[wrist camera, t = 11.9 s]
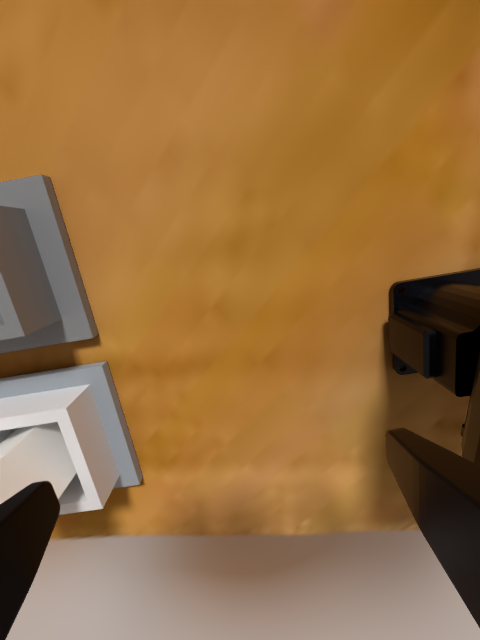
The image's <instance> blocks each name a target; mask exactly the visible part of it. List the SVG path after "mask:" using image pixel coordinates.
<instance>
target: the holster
mask: <svg viewBox="0 0 480 640" xmlns="http://www.w3.org/2000/svg"><path fill="white" fill-rule="evenodd" d="M97 335H98V331H97V327H96V324H95V321H94V318H93V314H92V311H91V308H90V305H89V302H88V298H87V295H86V292H85V289H84V285H83V282H82V279H81V276H80V273H79V269H78V266H77V263H76V260H75V256H74V253H73V250H72V247H71V244H70V240H69V237H68V234H67V231H66V227H65V224H64V221H63V218H62V215H61V211H60V208H59V205H58V202H57V198H56V195H55V192H54V189H53V186H52V182H51V179H50V177H47V176H44V175H37V176H32V177H26V178H21V179H16V180H10V181H5V182H0V353H6V352H12V351H18V350H24V349H30V348H36V347H42V346H49V345H55V344H61V343H67V342H73V341H79V340H85V339H91V338H94V337H96V336H97Z"/></svg>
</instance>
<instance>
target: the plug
mask: <svg viewBox="0 0 480 640" xmlns="http://www.w3.org/2000/svg"><path fill="white" fill-rule="evenodd" d="M76 473H77V472H76V469H75V467H74V464H73V462H72V459H71V456H70V454H69V451H68V448H67V446H66V443H65V440H64V438H63V435H62V433H61V430H60V427H59V425H58V422H53V423H47V424H40V425H34V426H27V427H21V428H19V429H17V430H15V431H14V432H13V433H12V434H11V435H10V436H8V437H7V438H6V439H5V440H4V441H3V442H2V443H0V504H1V503H3V502H4V501H6V500H7V499H9V498H10V497H12V496H13V495H15V494H16V493H18V492H19V491H21V490H22V489H24V488H25V487H27V486H28V485H30V484H31V483H34V482H40V481H49V482H50V483H51V484H52V486H53V488H54V491H55V493H56V495H57V498H58V499H59V498H60V496H61V495H62V493H63V492H64V490H65V489H66V487H67V486H68V484H69V483H70V482H71V480H72V479H73V477H74V476H75V474H76Z"/></svg>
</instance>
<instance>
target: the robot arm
mask: <svg viewBox="0 0 480 640" xmlns="http://www.w3.org/2000/svg"><path fill="white" fill-rule="evenodd" d="M399 287H402V291H401V292H400V293H398V292H397V289H398V288H399ZM390 297H391V314H390V316H389V317H388V322H389V348H390V351H391V352H392V353H393V369H394V370H395V371H396V372H397V373H398V374H400V375H405V374H412V373H418V372H419V373H420V374H421V375H423V376H424V377H425V378H427V379H429V378H433V379H434V380H436V381H437V382H438V383H440V384H441V385H443V386H444V387H445V388H447V389H448V390H449V391H451V392H452V393H454V394H455V395H456V396H458V397H463V396H470V401H469V406H468V411H467V416H466V421H465V424H463V425H462V429H461V436H462V437H463V439H462V457H461V456H459V455H457V454H455V453H453V452H451V451H449V450H447V449H445V448H443V447H441V446H439V445H437V444H435V443H433V442H431V441H429V440H427V439H425V438H423V437H421V436H419V435H417V434H415V433H413V432H411V431H409V430H407V429H405V428H395V429H389V430H387V431H386V455H387V461H388V464H389V467H390V469H391V471H392V473H393V475H394V477H395V479H396V481H397V483H398V485H399V487H400V489H401V491H402V493H403V496H404V498H405V500H406V502H407V504H408V506H409V508H410V510H411V512H412V514H413V516H414V518H415V520H416V522H417V524H418V526H419V528H420V530H421V532H422V533H423V535H424V537H425V538H426V540H427V542H428V543H429V545H430V547H431V548H432V550H433V551H434V553H435V555H436V557H437V558H438V560H439V562H440V563H441V565H442V566H443V568H444V570H445V571H446V573H447V575H448V576H449V578H450V580H451V581H452V583H453V585H454V586H455V588H456V589H457V591H458V593H459V595H460V596H461V598H462V599H463V601H464V603H465V604H466V606H467V608H468V609H469V611H470V613H471V614H472V616H473V618H474V619H475V621H476V622H477V624H478V626H479V628H480V268H478V269H472V270H466V271H460V272H454V273H447V274H441V275H435V276H429V277H423V278H417V279H411V280H405V281H399V282H396V283H394V284H393V285H392V286H391V289H390ZM401 365H404V367H403V368H402V369H399V368H400V366H401ZM59 513H60V503H59V500H58V498H57V495H56V493H55V491H54V488H53V486H52V484H51V483H50V482H49V481H40V482H34V483H31V484H30V485H28V486H27V487H25V488H24V489H22V490H21V491H19V492H18V493H16V494H15V495H13V496H12V497H10V498H9V499H7V500H6V501H4V502H3V503H1V504H0V640H5V639H6V637H7V635H8V633H9V631H10V629H11V627H12V625H13V623H14V620H15V618H16V616H17V614H18V612H19V610H20V608H21V606H22V604H23V602H24V600H25V598H26V595H27V593H28V591H29V589H30V587H31V584H32V582H33V580H34V578H35V575H36V573H37V570H38V568H39V565H40V563H41V560H42V558H43V555H44V552H45V550H46V547H47V545H48V542H49V540H50V537H51V534H52V532H53V529H54V527H55V524H56V521H57V519H58V516H59Z"/></svg>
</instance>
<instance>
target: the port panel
mask: <svg viewBox="0 0 480 640" xmlns="http://www.w3.org/2000/svg"><path fill="white" fill-rule="evenodd" d="M53 422H58V425H59V427H60V430H61V433H62V435H63V438H64V440H65V443H66V446H67V448H68V451H69V454H70V456H71V459H72V462H73V464H74V467H75V469H76V472H77V473H76V474H75V476H74V477H73V479H72V480H71V482H70V483H69V484H68V486H67V487H66V489H65V490H64V492H63V493H62V495H61V496H60V498H59V499H58V500H59V503H60V513H59V515H63V514H70V513H77V512H84V511H91V510H98V509H103V507H104V505H105V503H106V501H107V499H108V497H109V495H110V493H111V491H112V489H113V488H120V487H127V486H134V485H140V483H141V480H142V478H143V475H142V472H141V469H140V466H139V463H138V459H137V456H136V453H135V450H134V446H133V443H132V440H131V437H130V434H129V430H128V427H127V424H126V421H125V417H124V414H123V411H122V408H121V405H120V401H119V398H118V395H117V392H116V389H115V385H114V382H113V379H112V376H111V372H110V369H109V366H108V363H107V361H104V362H98V363H92V364H85V365H79V366H73V367H67V368H61V369H54V370H48V371H42V372H36V373H30V374H24V375H17V376H11V377H5V378H0V443H2V442H3V441H4V440H5V439H6V438H7V437H8V436H10V435H11V434H12V433H13V432H14V431H15V430H17V429H19V428H21V427H27V426H34V425H40V424H47V423H53Z"/></svg>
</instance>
